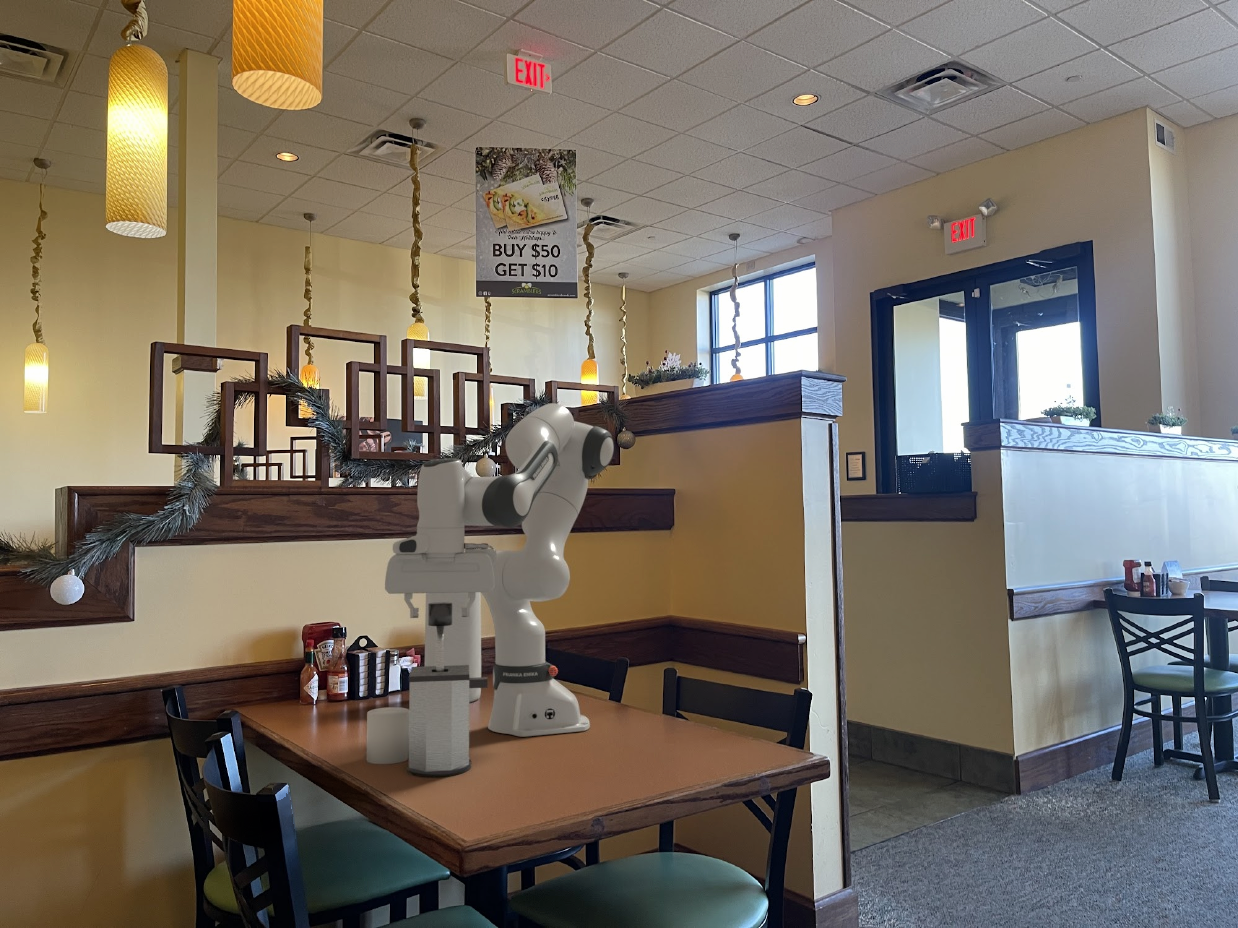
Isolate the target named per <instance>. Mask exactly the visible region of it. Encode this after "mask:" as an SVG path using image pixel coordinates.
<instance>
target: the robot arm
mask: <svg viewBox="0 0 1238 928" xmlns="http://www.w3.org/2000/svg"><path fill="white" fill-rule="evenodd" d="M614 450H615V442H614V437H613V435H612V434H611V432H610V431H608V430H606V429H605V428H603V427H600V426H593V425H590V424H587V423H583V422H579V421H575V420H574V416H573V415H572V413H571V411H570V410H569V409H568V408H567V407H565V406H563V405H562V404H558V403H555V402H554V403H551V402H550V403H547V404H544V405H542V406H540V407H539V408H536V409H534V410H533V411H532V412H530V413H528V414H527V415H526V416H524V418H522V419H521V420H520V421H518V422H517V423H516V424H515V425H514V426H513V427H512V428H511V429H510V431H509V432H508V434H507V436H506V438H505V451H506V455H507V458H508V459H509V461H510V462H511V464H512V465H513V466H514V467H515V468H516V469H517V471H516V472H514V473H512V474H508V475H507V474H506V475H500V476H499V475H498V476H475V475H474V474H472V473H470V472H469V471H467V469H465V467H463V464H462V460H461V459H459V458H456V457H444V458H436V459H435V458H434V459H431V460H426V462H424V463H423V464H422V465H421V467H420V471H419V475H418V483H417V496H416V498H417V499H416V500H417V501H416V503H417V508H418V514H419V516H418V522H417V525H416V534H415V535H414V536H408V537H406V538H404V539H400V540H397V541H395V542H394V543H393V544H392V552H393V553H394V555H392V556H391V557H390V559H389V561H388V562H387V567H386V572H385V581H384V590H385V591H386V592H387V593H388V594H390V595H391V594H394V595H395V594H396V595H398V594H399V595H400V594H404V598H403V599H404V602H405V603H406V605H407V607H408V608H409V613H410V614H409V617H410V619H418V618H419V616H420V615H419V609H420V608H419V607H414V604H413V602H412V601H411V600H412V599H413V595H414V594H426V593H466V592H468V598H471V599H470V600H469V602H468V604H467V606H466V607H462V617H469V614H470V607H471V605H472V604H473V602H474V600H475V594H476V592H481V594H482V595H481V596H483V598H484V599H485V601H486V603H487V606H488V609H489V611H490V614H491V618H492V621H493V627H494V628H493V629H494V641H495V643H494V644H495V647H494V648H495V649H494V650H495V662H494V663H493V668H492V686H493V689H494V693H493V700H492V701H493V703H492V709H491V714H490V719H489V721H488V726H487V728H488V730H490V731H492V732H495V733H500V734H508V735H512V736H516V737H521V738H522V737H525V738H526V737H532V736H533V737H534V736H543V735H545V736H546V735H554V734H564V733H574V732H575V733H576V732H585V731H587V730H588V729H590V728H591V723H590V719H589V718H588V717H586V715H584V714H581V710H580V705H579V702H578V698H577V697H576V695H575V694H574V693H573V692H571V691H570V690H569V689H568V688H566V687H565V686H564V685H562V684H561V682H559V681H557V680H556V679H555V676H557V674H558V672H559V670H558V668H557V667H556V666H555V665H553V664H552V663H549V662H547V661H546V628H545V626H544V624H543V623H542V622H541V620H540V619H539V618H537V616H536V614H535V612H534V611H533V609H532V605H531V602H536V603H537V602H541V603H542V602H546V601H551V600H555V599H559V598H561V597H562V596H564V594H565V593H566V591H567V589H568V588H569V584H570V580H571V573H570V568H569V566H568V563H567V561H566V560H565V558H564V552H565V547H566V546H565V544H566V542H567V539H568V537H569V535H570V533H571V530H572V528H573V526H574V525H575V522H576V520H577V518H578V517H579V514H580V512H581V509H582V507H583V505H584V502H585V499H586V495H587V491H588V487H589V480H592V479H595V477H597V476H598V474H601V473H602V472H603V471H604V470H605V469H607V467H608V466H609V465H610V464H611V461H612V459H613V456H614V452H615V451H614ZM520 525H521V528H522V532H523V533H524V535H525V536H526V541H525V544H524V546H523V547H522V549H520V550H497V551H496V549H495V547H493V546H492V545H489V543H487V542H482V543H473V542H469V543H468V542H465V526H477V527H485V526H486V527H488V526H489V527H490V526H491V527H492V526H493V527H501V528H508V529H510V528H511V529H512V528H516V527H518V526H520Z"/></svg>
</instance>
